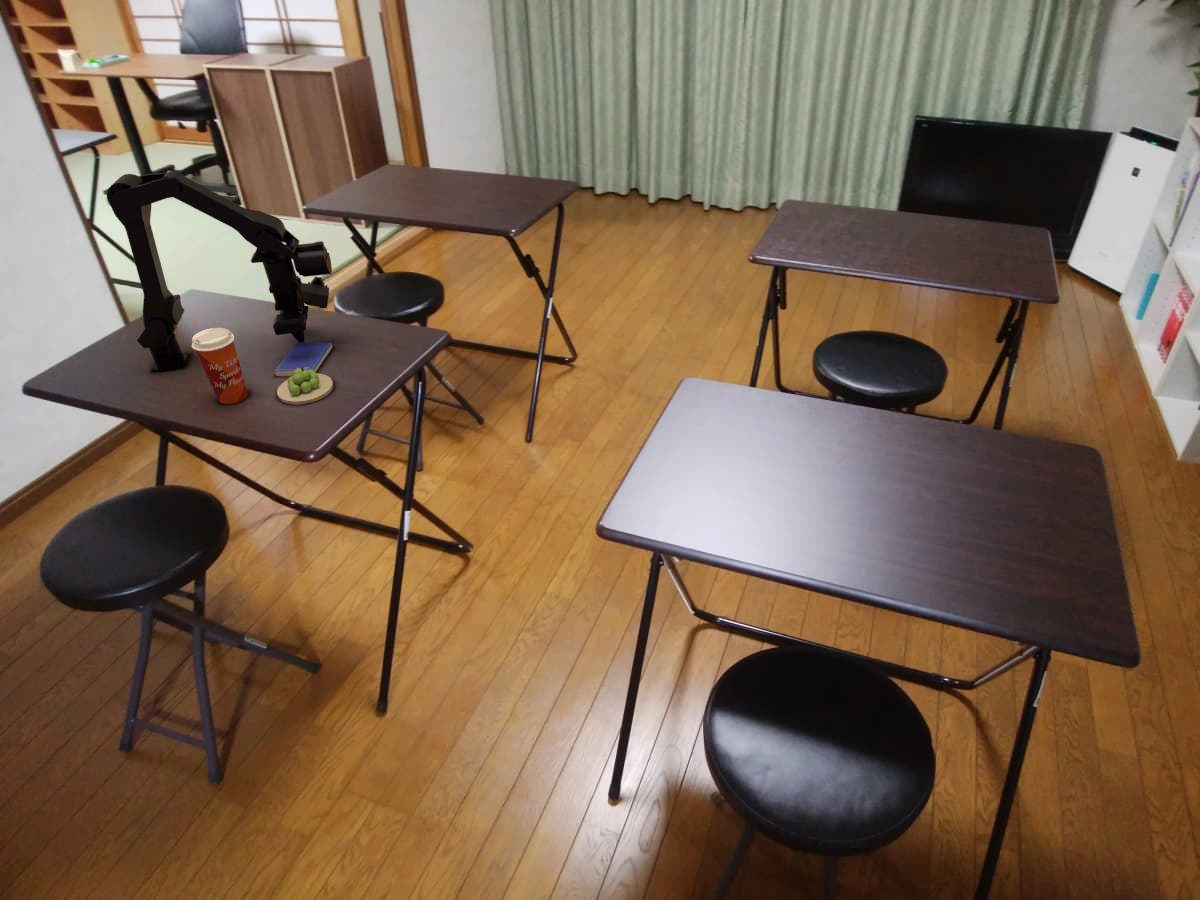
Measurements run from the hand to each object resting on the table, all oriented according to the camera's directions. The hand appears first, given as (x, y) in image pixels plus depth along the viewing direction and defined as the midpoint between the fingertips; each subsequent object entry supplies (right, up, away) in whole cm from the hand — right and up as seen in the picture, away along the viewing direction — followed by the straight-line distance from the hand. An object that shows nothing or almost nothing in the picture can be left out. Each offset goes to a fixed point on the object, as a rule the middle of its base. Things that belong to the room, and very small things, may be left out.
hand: (302, 341), depth 171 cm
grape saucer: (+6, -12, -14) cm, 20 cm away
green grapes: (+6, -12, -14) cm, 20 cm away
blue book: (+2, -5, -4) cm, 7 cm away
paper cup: (-8, -14, -15) cm, 22 cm away
